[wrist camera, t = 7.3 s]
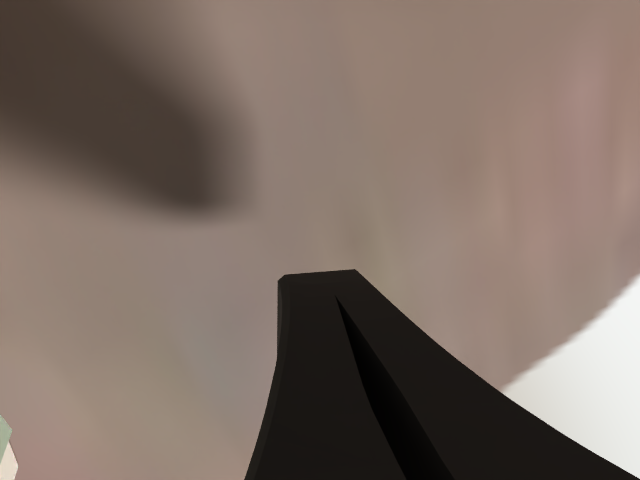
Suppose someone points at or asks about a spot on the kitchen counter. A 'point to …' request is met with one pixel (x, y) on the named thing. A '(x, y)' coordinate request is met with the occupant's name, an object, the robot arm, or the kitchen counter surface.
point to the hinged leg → (4, 436)
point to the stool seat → (8, 465)
